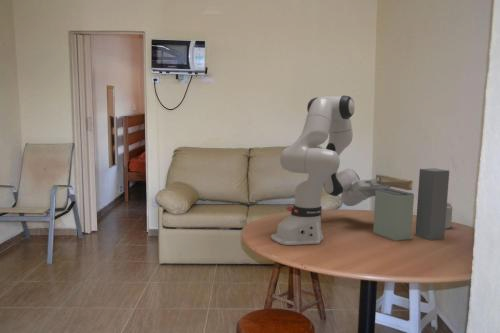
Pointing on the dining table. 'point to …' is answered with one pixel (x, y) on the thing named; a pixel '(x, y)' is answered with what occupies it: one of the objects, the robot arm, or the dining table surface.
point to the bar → (395, 182)
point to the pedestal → (432, 203)
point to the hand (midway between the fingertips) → (382, 178)
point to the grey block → (393, 214)
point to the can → (448, 216)
